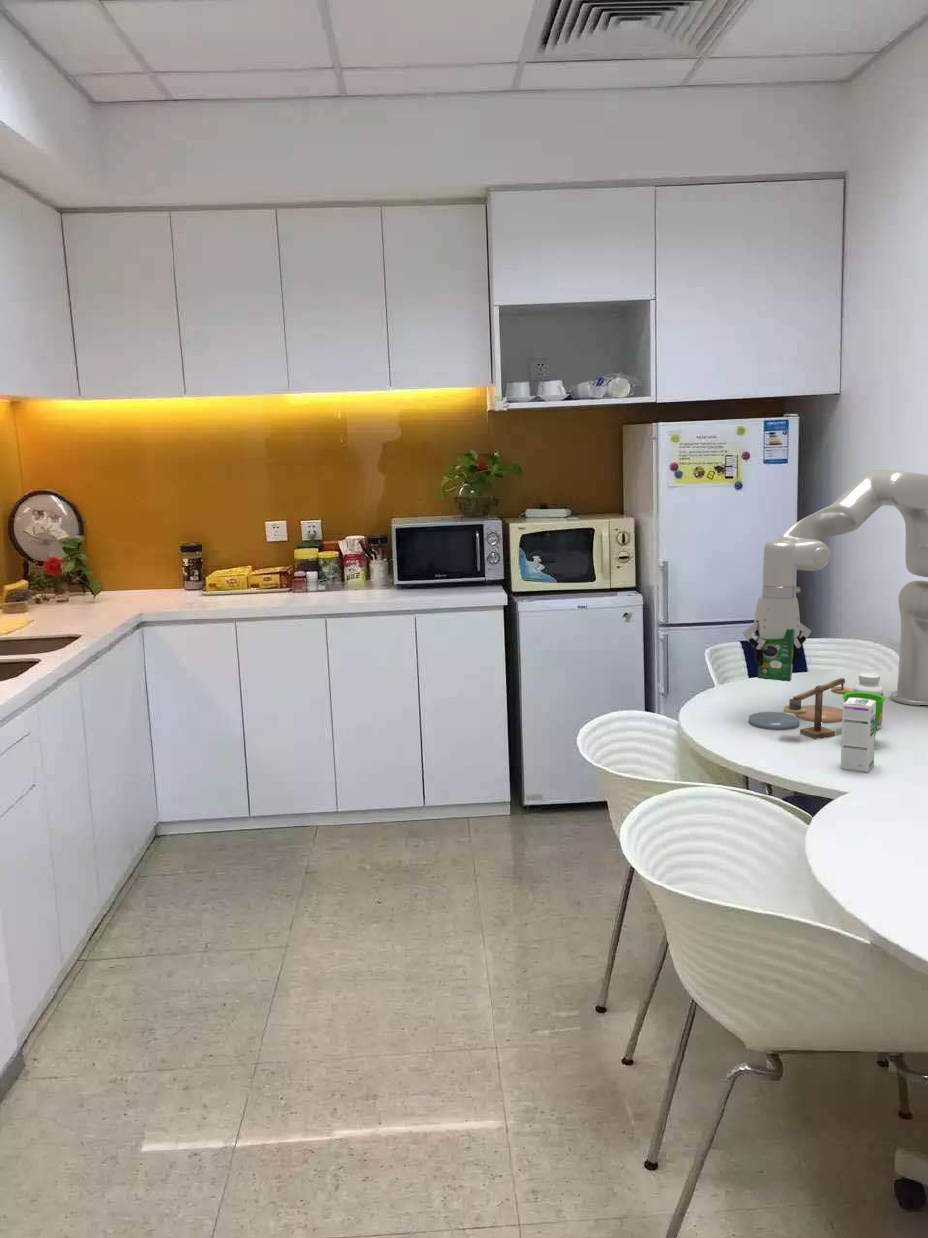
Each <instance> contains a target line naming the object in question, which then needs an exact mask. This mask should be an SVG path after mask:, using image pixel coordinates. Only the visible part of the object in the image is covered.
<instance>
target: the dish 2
mask: <svg viewBox="0 0 928 1238" xmlns="http://www.w3.org/2000/svg"><path fill="white" fill-rule="evenodd" d="M801 707H804V708H806V713H803V714H795V716H796V717H798V718H799V719H801V720H804V721H809V722H812V723H813V722H814V717H815V704H809V705H801ZM842 717H843V708H839V707H835V706H831V705H830V706H829V705H823V704H822V723H823V724H834V723H835V724H836V723H842ZM822 723H821V724H822Z"/></svg>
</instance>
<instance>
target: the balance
mask: <svg viewBox="0 0 928 1238" xmlns="http://www.w3.org/2000/svg"><path fill="white" fill-rule="evenodd" d="M845 683H846V678H843V677H841V678H837V679H836V680H835V679H834V680H833V681H830V682H827V683H825V684H823V685H820V684H819V685H816V686H815V688H814V687H813V689H810V690H808V691H804V692H802V693H800V694H797V695H794V696H793V697H792V698H790V699H789V700H788V701H789V703H788V705H786V706H784V707H783V712H784V713H786V714H790V715H796V714H803V713H806V708H804V707H801V706H802V700H803V701H804V700H805V699H808V698H810V697H812V696H815V700H814V705H815V717H814V723H813V726H810V727H804V728H800V729H799V734H800V735H802V736H805V737H807V738H809V737H810V738H809V739H812V738H813V739H812V740H814V739H815V740H818V739H817V738H821V739H825V738H824V737H827V738H832V737H835V736H836V731H835V730H832V729H830V728H827V727H825V726H823V725H822V723H821V722H822V705H823V697H824V696H823V695H824V694H823V693H824V692H825V691H828V690H830V692H831V693H833V694H835V695H836V694H837V695H843V694H845V693H849V692H854V688H851V687H847V686H844V685H845Z"/></svg>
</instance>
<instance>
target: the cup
mask: <svg viewBox="0 0 928 1238" xmlns="http://www.w3.org/2000/svg"><path fill="white" fill-rule="evenodd" d="M841 697H842V699H844V700H843V703H845V701H847V700H848V699H849V697H850V698H865V699H871V700H875V701H876V719H875V736H876V734H877V730H878V729H877V726H878V722H879V717H880V713H881V709H882V704H883V705H884V702H885V701H886V698H885V697H884V695H883V696H881V695H878V694H874V693H868V692H849V693H845V694H842V696H841Z"/></svg>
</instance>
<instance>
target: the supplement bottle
mask: <svg viewBox="0 0 928 1238" xmlns="http://www.w3.org/2000/svg"><path fill="white" fill-rule="evenodd" d="M858 681H859V682H858V683H857V684H855V685H854V687H853V690H854V692H868V693H874V694H878V695H881V696H883V697H884V689H883V687H882V686H881V685H880V684H879V683H880V681H881V675H879V674H878V673H872V672H863V673H862V672H861V673H859V674H858ZM883 705H884V703H883V704H882V709H881V713H880V717H879V722H878V726H877V730H880V729H881V728H882V727H883V726H882V724H883V707H884V706H883Z"/></svg>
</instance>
